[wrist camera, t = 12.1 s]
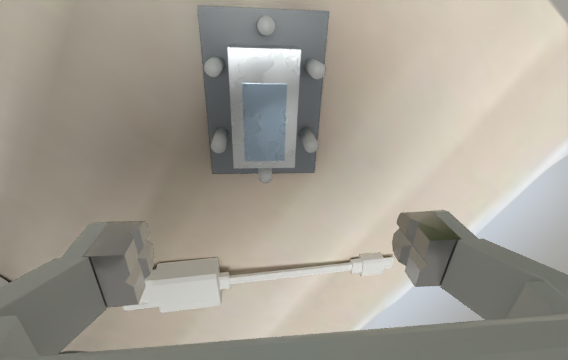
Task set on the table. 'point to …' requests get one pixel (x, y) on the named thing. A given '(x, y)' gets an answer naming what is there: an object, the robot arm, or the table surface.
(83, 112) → the table surface
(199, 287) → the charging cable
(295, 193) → the table surface
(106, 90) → the table surface
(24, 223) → the table surface
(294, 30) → the peg board
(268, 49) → the block
